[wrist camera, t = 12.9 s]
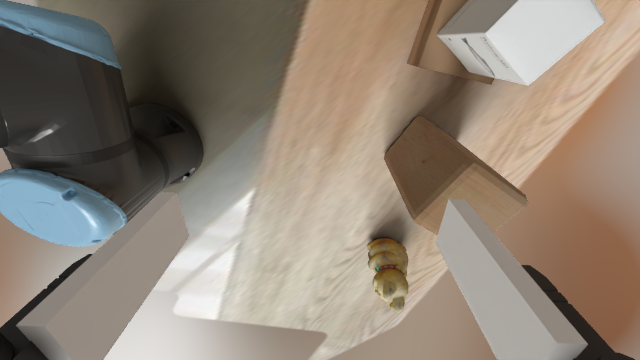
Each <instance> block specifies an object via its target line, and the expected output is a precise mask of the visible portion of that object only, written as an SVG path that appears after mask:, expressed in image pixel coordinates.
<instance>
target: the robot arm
mask: <svg viewBox="0 0 640 360" xmlns="http://www.w3.org/2000/svg"><path fill="white" fill-rule="evenodd" d="M120 70H122V68H121V66H120V64H118V61H117V58H116V54H115V51H114V47H113V44H112V40H111V37H110V35H109V34H108V32H107V31H106V30H105V29H104V28H103V27H102V26H101V25H99V24H98V23H96V22H94V21H92V20H89V19H86V18H82V17H78V16H74V15H70V14H65V13H61V12H57V11H52V10H48V9H44V8H39V7H35V6H30V5H25V4H21V3H16V2H12V1H6V0H0V148H3V150H4V152H5V154H6V156H7V158H8V160H9V162H10V164H11V167H12V169H9V170H5V171H3V172H1V173H0V212H1V213H2V214H3V215H4V216H5V217H6V218H7V219H8V220H10V221H11V222H12V223H13V224H15V225H16V226H18V227H20V228H21V229H23V230H24V231H26V232H28V233H30V234H33V235H34V236H36V237H39V238H41V239H44V240H46V241H49V242H52V243H56V244H60V245H66V246H76V247H77V246H78V247H79V246H80V247H82V246H90V245H94V244H98V243H100V242H102V241H104V240H106V239H107V238H108V237H110V236H111V235H112V234H113V233H115V232H116V231H117V230H119V229H120V230H119V231H118V232H117V233H116V234H115V235H113V236H112V237H111V238H110V239H109V240H108V241H107V242H106V243H105V244H104V245H103V246H102V247H101V248H99V249H98V250H97V251H96V252H95V253H94V254H88V255H87V256H85V257H83V258H82V259H80V260H78V261H77V262H75V263H73V264H72V265H71V266H70V267H69V268H67V269H66V270H65V271H64V272H63V273H62V274H61V275H60V276H59V278H58V279H57V278H56V279H55V280H54V281H53V282H52V283H50V284H49V285H48V286H47V289H44V290H43V291H41V292H40V293H39V294H38V295H37V296H36V297H35V298H34V299H32V300H31V301H30V302H29V303H28V304H27V305H26V306H24V307H23V308H22V309H21V310H20V311H19V312H18V313H16V314H15V315H14V316H13V317H12V318H11V319H10V320H9V321H8V322H6V323H5V324H4V325H3V326H2V327H1V328H0V360H103V359H104V358H105V356H106V355H107V354H108V352H109V350H110V349H111V348H112V346H113V345H114V343H115V342H116V340H117V339H118V338H119V336H120V335H121V333H122V332H123V331H124V329H125V328H126V326H127V325H128V323H129V322H130V321H131V319H132V318H133V316H134V315H135V313H136V312H137V310H138V309H139V308H140V306H141V305H142V303H143V302H144V300H145V299H146V297H147V296H148V295H149V293H150V292H151V290H152V289H153V288H154V286H155V285H156V283H157V282H158V280H159V279H160V278H161V276H162V275H163V273H164V272H165V270H166V269H167V268H168V266H169V265H170V263H171V262H172V260H173V259H174V258H175V256H176V255H177V253H178V252H179V250H180V249H181V248H182V246H183V245H184V243H185V242H186V240H187V239H188V237H189V233H188V230H187V227H186V224H185V220H184V217H183V214H182V210H181V207H180V204H179V200H178V197H177V194H176V192H160V191H161V190H162V189H164V188H167V187H170V186H173V185H175V184H178V183H181V182H183V181H185V180H187V179H188V178H190V177H191V176H192V175H193V174H194V173H195V172H196V171H197V170H198V168H199V167H200V165H201V162H202V158H203V148H202V143H201V140H200V138H199V136H198V134H197V132H196V130H195V129H194V127H193V126H192V125H191V124H190V123H189V122H188V121H187V120H186V119H185V118H184V117H183V116H182V115H180V114H179V113H177V112H176V111H174V110H172V109H170V108H168V107H165V106H162V105H158V104H141V105H138V106H135V107H132V108H129V107H128V102H127V98H126V93H125V89H124V84H123V80H122V76H121V71H120ZM159 192H160V193H159ZM158 193H159V194H158ZM157 194H158V195H157ZM156 195H157V196H156ZM155 196H156V197H155ZM154 197H155V198H154ZM153 198H154V199H153ZM152 199H153V200H152ZM150 200H151V201H150ZM149 201H150V202H149ZM148 202H149V203H148ZM147 203H148V204H147ZM146 204H147V205H146ZM145 205H146V206H145ZM144 206H145V207H144ZM143 207H144V208H143ZM142 208H143V209H142ZM141 209H142V210H141ZM140 210H141V211H140ZM139 211H140V212H139ZM127 222H128V223H127ZM436 245H437V247H438V249H439V250H440V252H441V254H442V256H443V258H444V260H445V262H446V264H447V266H448V268H449V269H450V271H451V273H452V275H453V277H454V279H455V281H456V283H457V285H458V286H459V288H460V290H461V292H462V294H463V296H464V298H465V300H466V302H467V304H468V305H469V307H470V309H471V311H472V313H473V315H474V317H475V319H476V321H477V323H478V324H479V326H480V328H481V330H482V332H483V334H484V335H485V338H486V340H487V341H488V343H489V345H490V347H491V349H492V351H493V353H494V355H495V357H496V359H497V360H635V359H633V358H631V357H628V356H626V355H623V354H621V353H615V352H614V351H613V350H612V349H611V348H610V347H609V346H608V345H607V343H606V342H605V341H604V340H603V339H602V338H601V337H600V336H599V335H598V333H597V332H596V331H595V330H594V329H593V328H592V327H591V326H590V325H589V324H588V323H587V321H586V320H585V319H584V318H583V317H582V316H581V315H580V314H579V313H578V312H577V311H576V309H575V308H574V307H573V306H572V305H571V304H568V301H567V300H566V298H565V297H564V296H563V295H562V294H561V293H559V292H558V290H557V289H556V288H555V286H553V284H552V283H551V282H550V281H549V280H548V279H547V278H546V277H545V276H544V275H542V274H541V273H540V272H538V271H537V270H536V269H534V268H533V267H531V266H530V265H520V264H519V263H518V261H517V260H516V259H515V258H514V256H512V254H511V253H510V252H509V251H508V249H507V248H506V247H505V246H504V245H503V244H502V242H501V241H500V240H499V239H498V238H497V237H496V235H495V234H494V233H493V232H492V231H491V229H490V228H489V227H488V226H487V225H486V224H485V222H484V221H483V220H482V219H481V218H480V217H479V215H478V214H477V213H476V212H475V211H474V210H473V208H472V207H471V206H470V205H469V204H468V202H467V201H466V200H465V199H448V203H447V206H446V209H445V213H444V216H443V219H442V223H441V226H440V229H439V233H438V236H437V239H436Z"/></svg>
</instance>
